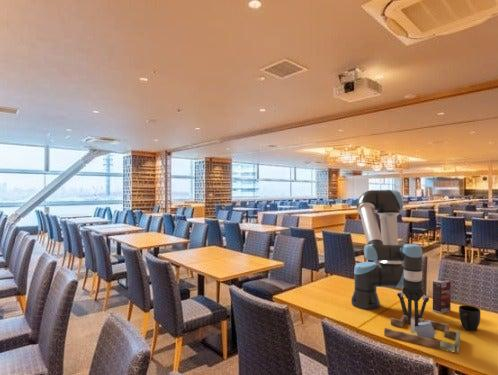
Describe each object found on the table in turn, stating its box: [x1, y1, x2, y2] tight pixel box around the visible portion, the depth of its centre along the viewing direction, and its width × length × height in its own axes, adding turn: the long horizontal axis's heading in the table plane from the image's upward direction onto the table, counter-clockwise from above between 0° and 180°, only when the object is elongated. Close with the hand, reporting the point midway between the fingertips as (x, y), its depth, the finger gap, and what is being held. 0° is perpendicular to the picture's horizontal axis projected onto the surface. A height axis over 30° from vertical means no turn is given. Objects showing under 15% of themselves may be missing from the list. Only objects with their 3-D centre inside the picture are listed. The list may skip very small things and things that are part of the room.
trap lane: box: [383, 314, 461, 354], centre depth 144 cm, size 28×21×4 cm
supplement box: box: [432, 279, 452, 314], centre depth 170 cm, size 9×5×16 cm, turn 116°
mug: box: [458, 304, 481, 332], centre depth 148 cm, size 8×12×10 cm
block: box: [415, 320, 436, 339], centre depth 140 cm, size 6×6×5 cm
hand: (413, 332), depth 143 cm, fingers closed
